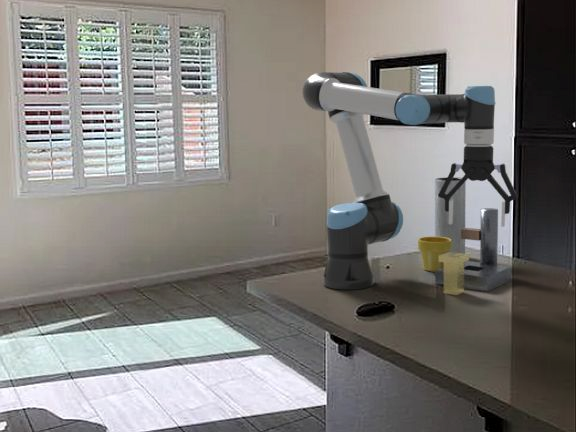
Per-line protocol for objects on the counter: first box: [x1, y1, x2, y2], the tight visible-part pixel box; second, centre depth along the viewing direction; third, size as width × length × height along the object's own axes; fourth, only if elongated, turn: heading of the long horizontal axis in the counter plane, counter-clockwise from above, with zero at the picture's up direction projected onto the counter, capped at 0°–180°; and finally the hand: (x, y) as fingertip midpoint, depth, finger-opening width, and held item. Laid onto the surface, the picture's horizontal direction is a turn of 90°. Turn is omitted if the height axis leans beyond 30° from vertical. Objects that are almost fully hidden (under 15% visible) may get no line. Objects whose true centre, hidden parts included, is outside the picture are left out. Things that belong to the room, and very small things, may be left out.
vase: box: [434, 176, 467, 254], centre depth 228 cm, size 10×10×27 cm
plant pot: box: [417, 236, 451, 272], centre depth 214 cm, size 10×10×10 cm
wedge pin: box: [439, 252, 470, 296], centre depth 185 cm, size 6×6×11 cm
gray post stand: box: [434, 207, 512, 292], centre depth 198 cm, size 16×21×20 cm
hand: (476, 224), depth 181 cm, fingers open, 13 cm apart
